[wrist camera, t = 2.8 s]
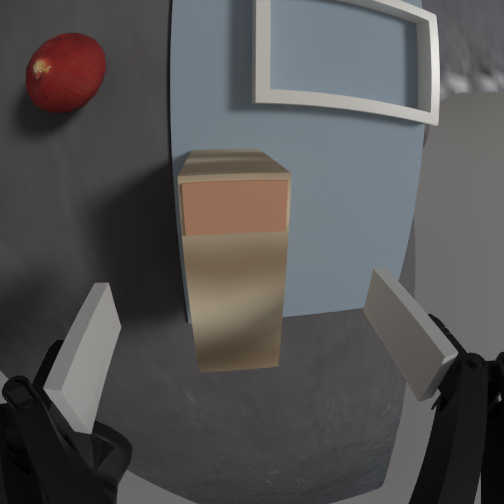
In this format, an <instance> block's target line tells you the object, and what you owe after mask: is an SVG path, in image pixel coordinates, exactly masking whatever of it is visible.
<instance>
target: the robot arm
mask: <svg viewBox="0 0 504 504" xmlns="http://www.w3.org/2000/svg"><path fill="white" fill-rule="evenodd" d="M363 313H364V314H365V316H366V317H367V319H368V320H369V322H370V323H371V325H372V326H373V328H374V330H375V331H376V333H377V334H378V336H379V337H380V339H381V340H382V342H383V344H384V345H385V347H386V348H387V350H388V352H389V353H390V355H391V356H392V358H393V360H394V361H395V363H396V365H397V366H398V368H399V370H400V371H401V373H402V374H403V376H404V378H405V379H406V381H407V383H408V385H409V386H410V388H411V390H412V391H413V393H414V395H415V396H416V398H417V400H418V401H419V402H420V401H423V400H426V399H428V398H431V397H432V396H433V395H434V393H435V392H436V390H437V389H439V391H440V392H441V394H440V396H439V397H438V399H437V400H436V401H435V403H434V404H433V406H432V408H431V409H432V410H433V409H434V408H435V406H436V405H437V407H436V413H435V417H434V422H433V426H432V430H431V434H430V439H429V442H428V446H427V450H426V454H425V457H424V460H423V464H422V467H421V470H420V473H419V476H418V479H417V482H416V485H415V488H414V491H413V493H412V496H411V499H410V502H409V504H474V500H475V496H476V491H477V487H478V482H479V477H480V471H481V504H504V352H501V353H500V354H499V355H498V357H497V358H496V360H495V361H485V360H484V358H483V357H481V356H480V355H478V354H476V353H467V352H466V351H465V350H464V348H462V346H461V345H460V344H459V342H458V341H457V340H456V339H455V338H454V336H453V335H452V334H450V331H449V330H448V329H447V328H445V326H444V324H443V323H442V322H441V321H440V320H439V319H438V318H436V317H435V316H433V315H432V314H428V315H427V314H426V312H425V311H424V310H423V309H422V308H421V307H420V305H419V304H418V303H417V302H416V301H415V300H414V299H413V297H412V296H411V295H410V294H409V293H408V292H407V291H406V290H405V289H404V287H403V286H402V285H401V284H400V283H399V282H398V281H397V280H396V279H395V278H394V277H393V275H392V274H391V273H390V272H389V271H388V270H387V269H386V268H377V269H373V272H372V276H371V281H370V285H369V289H368V293H367V297H366V301H365V305H364V309H363ZM120 329H121V324H120V321H119V318H118V314H117V311H116V308H115V304H114V300H113V297H112V293H111V289H110V286H109V283H95V284H94V285H93V287H92V289H91V291H90V293H89V294H88V296H87V298H86V300H85V302H84V303H83V305H82V307H81V309H80V311H79V313H78V315H77V317H76V319H75V321H74V323H73V325H72V326H71V328H70V330H69V332H68V334H67V337H66V339H65V340H57V341H56V342H55V343H54V344H53V345H52V346H51V347H50V348H49V350H48V352H47V354H46V356H45V358H44V360H43V362H42V365H41V366H40V368H39V370H38V373H37V375H36V377H35V379H34V381H33V384H31V383H30V381H29V380H28V378H26V377H24V376H15V377H12V378H11V379H9V380H8V381H7V382H6V383H5V384H4V386H3V389H2V396H3V397H4V399H5V400H6V401H7V403H6V404H5V403H4V404H0V504H117V491H118V484H119V482H120V481H121V479H122V477H123V475H124V473H125V471H126V469H127V467H128V465H129V464H130V461H131V456H132V446H131V444H130V443H129V442H128V440H127V439H126V438H124V437H123V436H122V435H120V434H119V433H117V432H116V431H114V430H112V429H111V428H109V427H107V426H104V425H102V424H100V423H98V422H95V416H96V412H97V408H98V404H99V400H100V397H101V393H102V389H103V385H104V382H105V378H106V375H107V371H108V368H109V364H110V361H111V358H112V354H113V351H114V348H115V345H116V342H117V339H118V336H119V332H120ZM500 394H501V398H502V400H501V401H500V402H499V400H498V397H499V395H500Z"/></svg>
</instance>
